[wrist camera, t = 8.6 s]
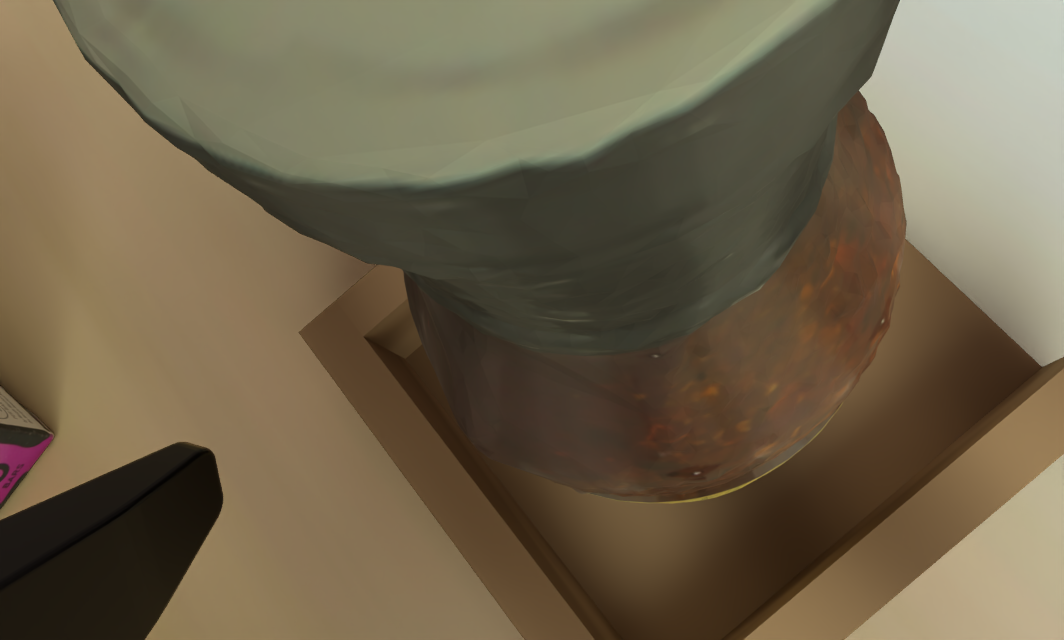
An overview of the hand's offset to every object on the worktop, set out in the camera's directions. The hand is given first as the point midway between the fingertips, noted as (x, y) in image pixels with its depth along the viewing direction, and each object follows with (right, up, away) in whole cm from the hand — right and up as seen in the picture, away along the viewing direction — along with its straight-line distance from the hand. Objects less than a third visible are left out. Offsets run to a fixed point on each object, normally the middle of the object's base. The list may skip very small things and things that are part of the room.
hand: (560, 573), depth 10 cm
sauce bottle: (+3, +1, +13) cm, 13 cm away
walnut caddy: (+4, +1, +14) cm, 14 cm away
